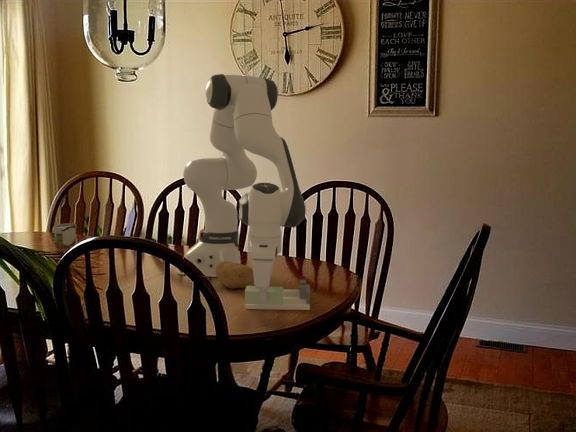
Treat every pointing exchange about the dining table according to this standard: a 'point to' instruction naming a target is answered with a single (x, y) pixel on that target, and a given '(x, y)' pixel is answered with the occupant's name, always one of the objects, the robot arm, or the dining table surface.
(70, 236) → the food container
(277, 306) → the beige shallow tray
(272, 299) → the green block
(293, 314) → the dining table surface
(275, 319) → the dining table surface
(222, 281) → the potato
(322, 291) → the dining table surface
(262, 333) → the dining table surface
